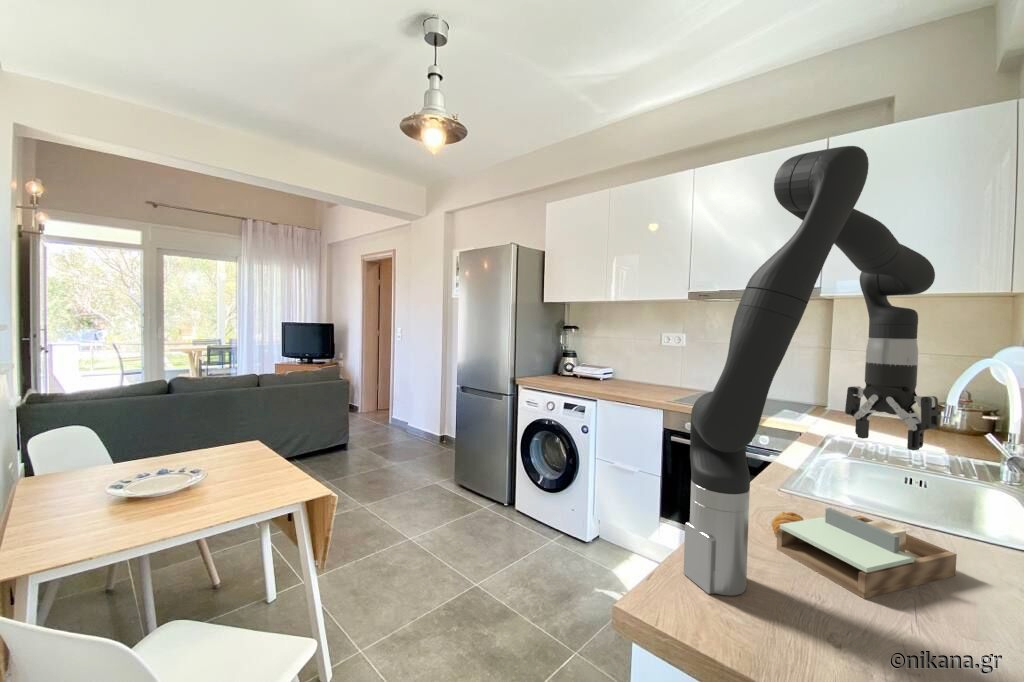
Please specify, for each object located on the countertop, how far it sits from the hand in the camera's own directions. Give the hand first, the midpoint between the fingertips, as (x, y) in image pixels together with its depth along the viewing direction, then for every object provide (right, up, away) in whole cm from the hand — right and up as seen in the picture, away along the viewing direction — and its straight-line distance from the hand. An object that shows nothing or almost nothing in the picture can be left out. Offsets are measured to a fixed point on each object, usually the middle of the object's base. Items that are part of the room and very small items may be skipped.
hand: (886, 443), depth 81 cm
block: (0, -21, 0) cm, 21 cm away
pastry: (-13, -23, +9) cm, 27 cm away
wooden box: (-6, -23, -1) cm, 23 cm away
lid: (-11, -18, -3) cm, 22 cm away
